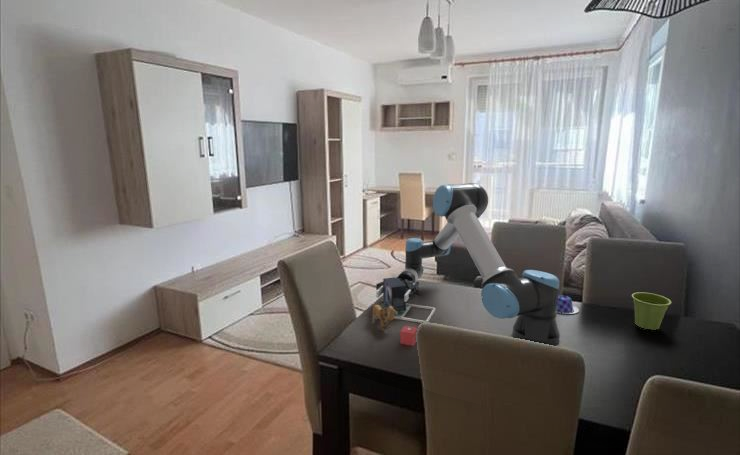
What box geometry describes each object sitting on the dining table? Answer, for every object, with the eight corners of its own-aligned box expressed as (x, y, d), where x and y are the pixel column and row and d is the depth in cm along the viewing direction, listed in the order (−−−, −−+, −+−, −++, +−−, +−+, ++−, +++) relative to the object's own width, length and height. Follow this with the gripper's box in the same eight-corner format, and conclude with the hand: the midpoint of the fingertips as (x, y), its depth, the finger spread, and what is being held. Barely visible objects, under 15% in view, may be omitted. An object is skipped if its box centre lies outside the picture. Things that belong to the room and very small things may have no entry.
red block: (416, 340, 139) (417, 326, 138) (413, 346, 135) (413, 331, 134) (404, 337, 141) (404, 324, 140) (400, 343, 137) (400, 329, 136)
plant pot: (620, 324, 152) (624, 295, 149) (639, 317, 157) (643, 290, 155) (654, 337, 141) (659, 307, 139) (673, 330, 147) (678, 300, 144)
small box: (382, 302, 167) (382, 278, 165) (396, 300, 169) (397, 276, 167) (390, 312, 157) (391, 286, 155) (406, 310, 159) (407, 285, 157)
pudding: (582, 316, 159) (583, 304, 158) (549, 314, 161) (550, 301, 160) (574, 305, 170) (575, 293, 169) (543, 302, 173) (544, 290, 172)
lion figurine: (399, 330, 147) (399, 306, 145) (387, 334, 144) (388, 310, 142) (374, 316, 158) (374, 294, 156) (363, 319, 155) (363, 297, 153)
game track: (435, 309, 165) (435, 307, 164) (427, 323, 152) (427, 321, 152) (387, 302, 172) (387, 300, 172) (375, 315, 159) (375, 313, 159)
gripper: (433, 290, 175) (419, 309, 155) (382, 283, 183) (363, 301, 163) (433, 274, 173) (420, 291, 153) (382, 267, 182) (363, 283, 162)
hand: (391, 296), depth 158 cm, fingers closed on small box, 11 cm apart
